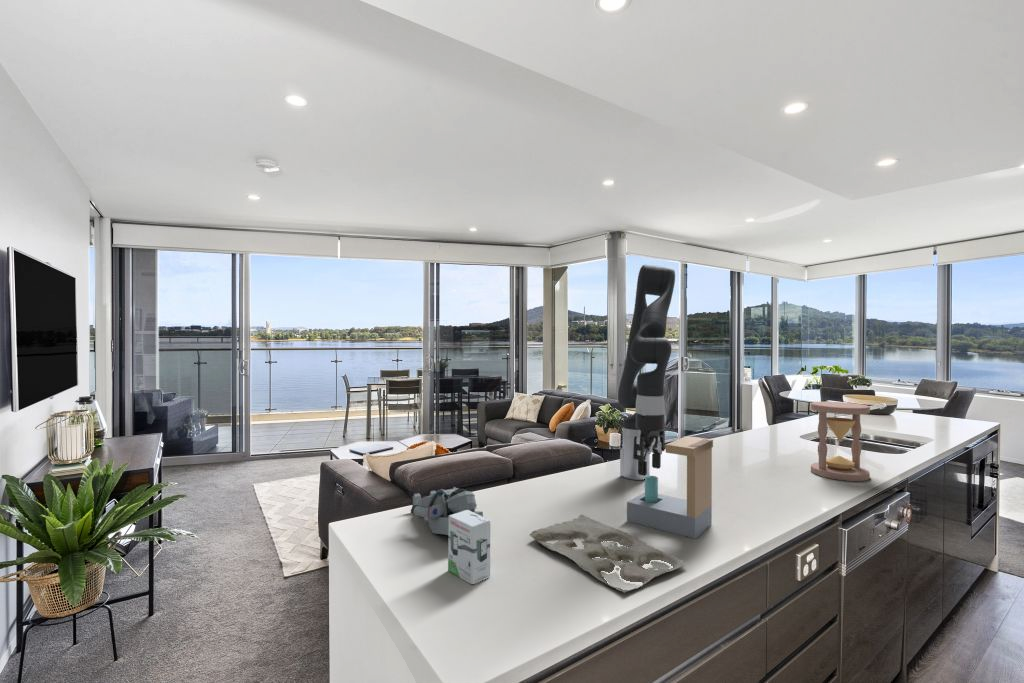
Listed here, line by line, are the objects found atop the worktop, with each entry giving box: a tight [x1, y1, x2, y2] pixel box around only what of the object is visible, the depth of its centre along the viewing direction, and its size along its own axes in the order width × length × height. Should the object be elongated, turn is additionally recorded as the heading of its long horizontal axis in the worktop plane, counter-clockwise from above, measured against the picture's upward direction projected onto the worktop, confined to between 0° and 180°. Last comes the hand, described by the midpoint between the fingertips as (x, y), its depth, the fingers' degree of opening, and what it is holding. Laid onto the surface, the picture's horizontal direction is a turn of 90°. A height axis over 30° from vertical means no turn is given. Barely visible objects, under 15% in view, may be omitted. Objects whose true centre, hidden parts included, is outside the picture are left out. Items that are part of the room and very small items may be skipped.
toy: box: [410, 486, 484, 536], centre depth 125 cm, size 17×11×30 cm
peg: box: [644, 475, 659, 504], centre depth 132 cm, size 3×3×11 cm
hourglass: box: [810, 401, 871, 482], centre depth 174 cm, size 18×18×25 cm
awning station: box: [626, 435, 714, 539], centre depth 129 cm, size 18×14×22 cm
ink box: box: [447, 510, 491, 585], centre depth 100 cm, size 9×5×12 cm, turn 43°
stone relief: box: [529, 514, 687, 593], centre depth 110 cm, size 32×3×20 cm
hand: (649, 471), depth 132 cm, fingers open, 8 cm apart
